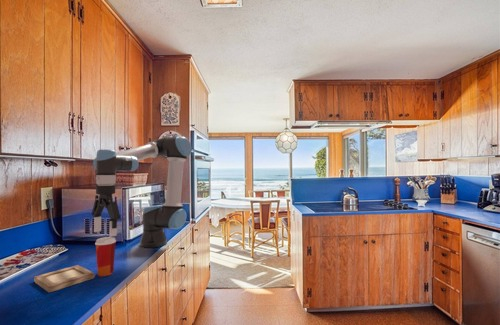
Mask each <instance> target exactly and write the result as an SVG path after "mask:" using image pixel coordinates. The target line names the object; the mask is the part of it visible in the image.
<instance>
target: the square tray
mask: <svg viewBox="0 0 500 325" xmlns="http://www.w3.org/2000/svg"><path fill="white" fill-rule="evenodd" d="M92 279H95V272H93V271H91V270H89V269H87V268H86V267H83V266H81V265H79V264H77V265H76V264H75V265H73V266H69V267H64V268H61V269H58V270H54V271H51V272H45V273H42V274H39V275H35V276H34V277H33V282H34V283H35V284H37V285H38V286H39V287H40V288H42V289H43V290H45V292H47V293H52V292H55V291H59V290H61V289H64V288H67V287H70V286H73V285H76V284H81V283H83V282H86V281H87V282H88V281H89V280H92Z"/></svg>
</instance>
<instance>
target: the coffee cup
mask: <svg viewBox="0 0 500 325" xmlns="http://www.w3.org/2000/svg"><path fill="white" fill-rule="evenodd" d="M116 242H117V239H116V237H114V236H112V237H109V236H105V237H100V238H97V239H96V240H95V243H94V245H95V251H96V252H95V253H96V254H95V255H96V268H97V269H96V271H97V276H98V277H106V276H111V275H113V274H114V268H115V253H116Z"/></svg>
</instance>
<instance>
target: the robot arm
mask: <svg viewBox="0 0 500 325" xmlns="http://www.w3.org/2000/svg"><path fill="white" fill-rule="evenodd" d="M192 150H193V149H192V144H191V142H190V140H189V139H188V138H187V137H185V136H171V137H161V138H158V139H155V140H151V141H148V142H147V143H146V144H143V145H140V146H137V147H133V148H129V149H125V150H122V151H121V150H120V151H119V152H116V150H114V149H98V150H97V151H96V157H95V158H94V159H93V162H92V165H93V169H95V170H96V172H95V173H96V177H95V178H94V179H95V180H96V181H95V182H96V187H95V194H96V195H95V199H94V203H93V206H92V211H91V216H93V226H94V227H93V232H94V233H98V232H99V233H100V232H102V213H103V210H104V209H106V211H107V213H108V216H109V218H110V219H109V220H108V221H109V232H108V233H109V234H108V235H109V236H108V237H116V236H117V235H118V221H119V220H120V219H121V214H120V209H119V206H118V201H117V200H118V199H117V196H113V194H115V193H116V185H115V184H117V183H116V181H117V179H116V178H117V176H116V175H117V174H116V172H135V171H137V169H138V168H139V165H140V164H139V162H140V161H142V160H147V159H148V158H153V159H155V158H158V157H159V158H161V157H166V160H167V161H168V170H167V180H166V192H165V193H166V194H165V202H164V203H163V204H158V205H149V206H145V207H144V208H143V213H142V221H143V222H142V225H143V226H142V235H141V237H140V241H139V246H140V247H141V248H147V249H149V248H158V247H159V248H160V247H163V246H165V245H166V244H167V243H168V242H167V241H168V240H167V237H166V234H165V231H164V229H170V230H179V229H181V228H182V227H183V226H184V225H185V223H186V220H187V215H188V213H187V212H186V210H185V209H184V205H183V204H182V190H183V178H184V176H183V175H184V166H185V165H184V164H185V162H186V161H187V158H188V156H191V153H192Z"/></svg>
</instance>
